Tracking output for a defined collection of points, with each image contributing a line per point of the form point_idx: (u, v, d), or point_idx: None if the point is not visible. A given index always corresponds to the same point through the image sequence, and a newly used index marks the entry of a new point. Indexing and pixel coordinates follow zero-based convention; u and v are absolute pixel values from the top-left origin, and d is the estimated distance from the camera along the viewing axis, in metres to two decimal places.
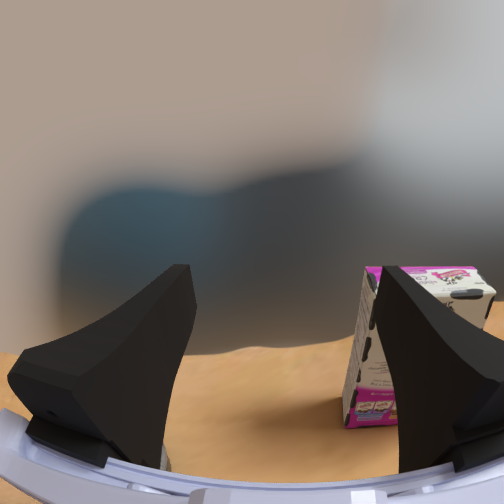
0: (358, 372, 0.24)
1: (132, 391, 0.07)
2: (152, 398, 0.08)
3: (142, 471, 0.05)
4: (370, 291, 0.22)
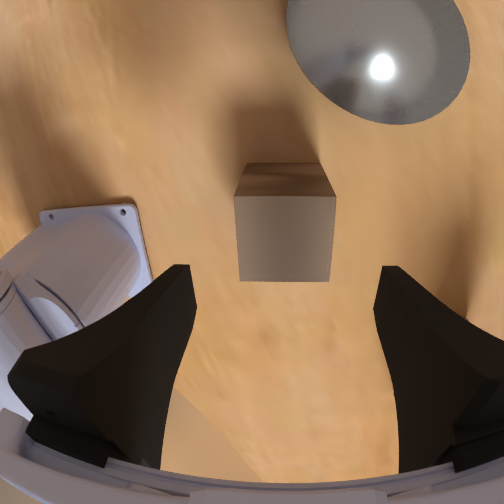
0: None
1: (132, 391, 0.07)
2: (152, 398, 0.08)
3: (142, 471, 0.05)
4: None
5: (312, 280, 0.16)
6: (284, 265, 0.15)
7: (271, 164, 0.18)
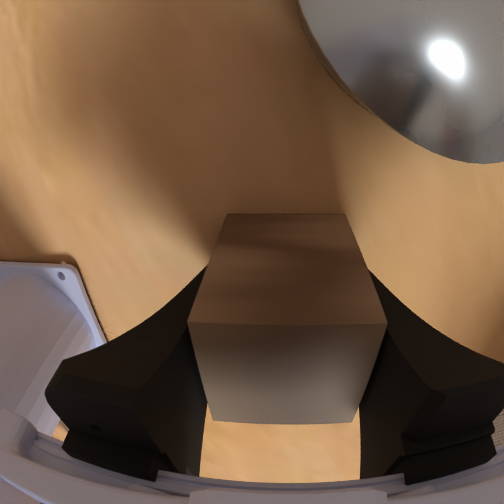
0: None
1: (180, 398, 0.07)
2: (195, 404, 0.08)
3: None
4: None
5: (326, 421, 0.09)
6: (283, 409, 0.08)
7: (266, 217, 0.12)
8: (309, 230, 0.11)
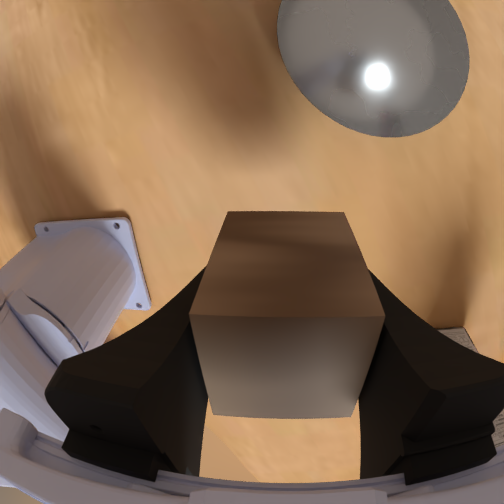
0: None
1: (180, 398, 0.07)
2: (194, 404, 0.08)
3: None
4: None
5: (325, 416, 0.09)
6: (283, 403, 0.09)
7: (266, 214, 0.12)
8: (308, 227, 0.11)
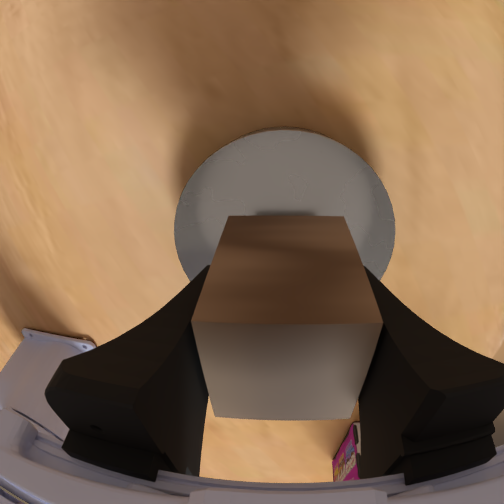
0: None
1: (180, 399, 0.07)
2: (195, 404, 0.08)
3: None
4: None
5: (324, 417, 0.09)
6: (283, 406, 0.09)
7: (266, 219, 0.12)
8: (308, 231, 0.11)
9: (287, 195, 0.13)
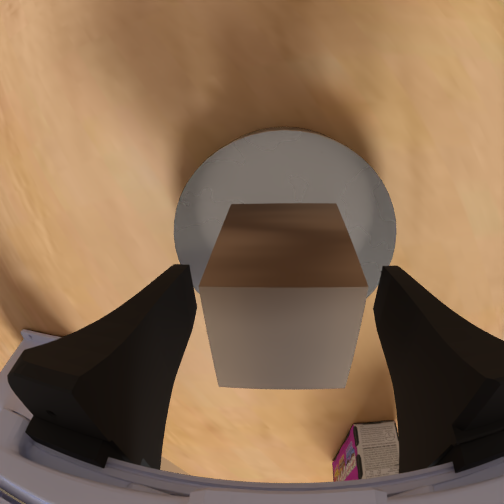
0: None
1: (132, 391, 0.07)
2: (152, 398, 0.08)
3: (142, 471, 0.05)
4: None
5: (321, 386, 0.10)
6: (282, 373, 0.10)
7: (265, 206, 0.13)
8: (303, 216, 0.12)
9: (287, 195, 0.13)
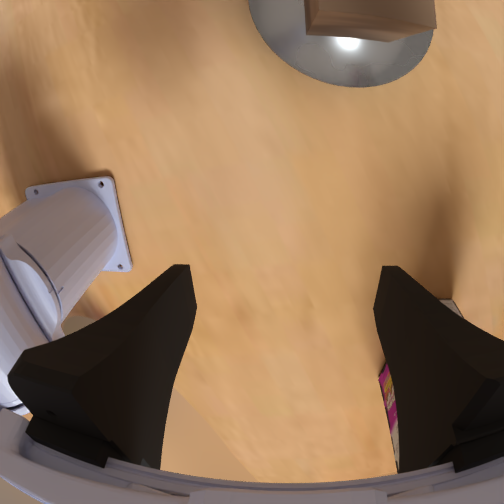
0: None
1: (132, 391, 0.07)
2: (152, 398, 0.08)
3: (142, 471, 0.05)
4: None
5: (416, 23, 0.08)
6: None
7: None
8: None
9: None
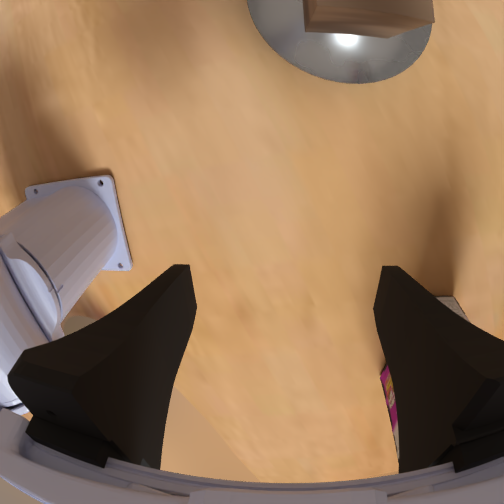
0: None
1: (132, 391, 0.07)
2: (152, 398, 0.08)
3: (142, 471, 0.05)
4: None
5: (414, 18, 0.08)
6: None
7: None
8: None
9: None
